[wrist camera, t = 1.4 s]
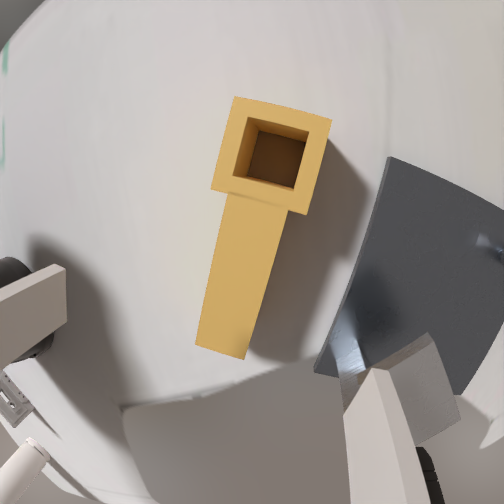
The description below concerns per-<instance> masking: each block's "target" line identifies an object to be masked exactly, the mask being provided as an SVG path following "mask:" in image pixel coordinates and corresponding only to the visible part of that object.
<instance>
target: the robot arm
mask: <svg viewBox="0 0 504 504" xmlns="http://www.w3.org/2000/svg"><path fill="white" fill-rule="evenodd" d="M66 322H67V305H66V269H65V268H63V267H61V266H59V265H56V264H53V265H50V266H48V267H46V268H43V269H41V270H39V271H37V272H35V273H32V274H31V272H30V271H29V270H28V269H27V267H26V266H25V265H24V264H22V263H21V262H20V261H19V260H17V259H15V258H12V257H5V258H3V259H0V371H1V370H2V369H4V368H5V367H6V366H8V365H9V364H11V363H15V362H19V361H22V360H25V359H28V358H35V357H37V356H39V355H41V354H42V353H43V352H45V351H46V350H47V349H48V348H49V347H50V346H51V344H52V341H53V331H55V330H56V329H58V328H59V327H60V326H62V325H63V324H65V323H66ZM343 421H344V429H345V438H346V448H347V457H348V469H349V481H350V496H351V504H445V502H444V499H443V495H442V492H441V488H440V484H439V482H437V480H438V478H437V475H436V472H434V470H435V469H434V465H433V463H432V459H431V457H430V456H429V454H428V453H427V452H426V450H425V449H424V448H423V447H415V445H414V442H413V439H412V436H411V433H410V430H409V427H408V424H407V421H406V418H405V415H404V412H403V409H402V406H401V403H400V401H399V398H398V395H397V392H396V390H395V387H394V384H393V382H392V379H391V376H390V374H389V371H387V370H382V369H377V368H371V370H370V372H369V373H368V375H367V377H366V379H365V380H364V382H363V384H362V386H361V387H360V389H359V391H358V392H357V394H356V396H355V397H354V399H353V401H352V402H351V404H350V405H349V407H348V409H347V410H346V412H345V413H344V415H343Z"/></svg>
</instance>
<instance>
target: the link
mask: <svg viewBox="0 0 504 504" xmlns="http://www.w3.org/2000/svg"><path fill="white" fill-rule="evenodd" d="M331 123H332V119H328V118H325V117H321V116H318V115H314V114H311V113H307V112H303V111H300V110H296V109H292V108H288V107H284V106H279V105H275V104H271V103H266V102H261V101H257V100H252V99H247V98H241V97H236V96H234V100H233V103H232V107H231V111H230V114H229V118H228V122H227V125H226V129H225V133H224V137H223V140H222V144H221V148H220V152H219V156H218V160H217V164H216V168H215V172H214V177H213V181H212V185H211V190H215V191H219V192H223V193H227V194H228V195H227V199H226V204H225V208H224V212H223V216H222V220H221V225H220V229H219V233H218V238H217V242H216V246H215V251H214V255H213V260H212V264H211V269H210V274H209V278H208V283H207V288H206V292H205V297H204V302H203V307H202V312H201V317H200V321H199V326H198V332H197V337H196V342H195V345H198V346H201V347H204V348H207V349H210V350H213V351H216V352H219V353H222V354H226V355H229V356H232V357H235V358H239V359H242V360H244V358H245V355H246V352H247V349H248V346H249V342H250V339H251V336H252V333H253V329H254V326H255V323H256V319H257V316H258V313H259V310H260V306H261V303H262V300H263V296H264V293H265V289H266V286H267V283H268V279H269V276H270V272H271V269H272V266H273V262H274V259H275V255H276V252H277V248H278V245H279V241H280V238H281V234H282V231H283V227H284V224H285V220H286V216H287V213H288V210H290V211H293V212H297V213H300V214H304V215H307V212H308V208H309V205H310V201H311V198H312V194H313V191H314V187H315V184H316V180H317V176H318V173H319V169H320V165H321V161H322V158H323V154H324V150H325V146H326V142H327V139H328V135H329V131H330V127H331ZM259 131H263V132H268V133H272V134H276V135H280V136H284V137H288V138H291V139H295V140H299V141H303V142H306V145H305V148H304V152H303V156H302V160H301V163H300V167H299V171H298V175H297V178H296V182H295V186H294V188H291V187H287V186H284V185H280V184H277V183H273V182H269V181H265V180H262V179H258V178H254V177H250V176H247V175H248V171H249V167H250V163H251V159H252V156H253V152H254V148H255V144H256V140H257V137H258V133H259Z"/></svg>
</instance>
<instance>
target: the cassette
mask: <svg viewBox="0 0 504 504" xmlns="http://www.w3.org/2000/svg"><path fill="white" fill-rule="evenodd" d="M1 391H2V392H3V393H4V395H5V396H6V397H7V398H8V399H9V400H10V401H9V402H8V403H7V402H6V401H5V400H4V399H3V398H2V397H1V395H0V413H1V414H2V416H3V417H4V418H5V419H6V420H7V421H8V422H9V423H10V425H11V426H12V427H13V428H16V427H17V426H18V425H19V424H20V423H21V422H22V421H23V420H24V419H25V418H26V417H27V416H28V415H29V414H30V413H31V412H32V411H33V410H34V406H33V405H32V404H31V403H30V402H29V400H28V399H27V398H26V397H25V395H24V394H23V393H22V392H21V391H20V390H19V389H18V387H17V386H16V385H15V384H14V383H13V382H12V380H11V379H10V378H9V377H8V376H7V374H6V373H5V372H4V371H3V370H1V371H0V392H1ZM10 405H13V406H14V407H15V408H12V407H11V406H10Z"/></svg>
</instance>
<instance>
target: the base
mask: <svg viewBox="0 0 504 504" xmlns="http://www.w3.org/2000/svg"><path fill="white" fill-rule="evenodd" d="M503 322H504V210H502V209H500V208H499V207H497V206H495V205H493V204H492V203H490V202H488V201H486V200H484V199H483V198H481V197H479V196H477V195H475V194H473V193H471V192H469V191H467V190H465V189H463V188H461V187H459V186H457V185H455V184H453V183H451V182H449V181H447V180H445V179H443V178H441V177H438V176H436V175H434V174H432V173H430V172H427V171H425V170H423V169H421V168H418V167H416V166H413V165H411V164H409V163H406V162H404V161H401V160H399V159H396V158H394V157H387V161H386V165H385V169H384V173H383V177H382V180H381V184H380V188H379V191H378V195H377V198H376V202H375V205H374V209H373V212H372V215H371V218H370V222H369V225H368V228H367V231H366V234H365V237H364V240H363V243H362V246H361V249H360V252H359V255H358V258H357V261H356V264H355V267H354V269H353V272H352V275H351V278H350V280H349V283H348V286H347V288H346V291H345V294H344V296H343V299H342V301H341V304H340V306H339V309H338V311H337V314H336V316H335V319H334V321H333V324H332V326H331V328H330V331H329V333H328V335H327V338H326V340H325V342H324V345H323V347H322V349H321V352H320V354H319V356H318V358H317V360H316V363H315V365H314V372H315V373H319V374H324V375H328V376H333V377H338V378H339V374H338V368H337V362H336V359H338V358H340V357H342V356H344V355H345V354H347V353H349V352H351V351H353V350H355V349H356V348H358V347H359V348H360V350H361V351H362V353H363V355H364V356H365V358H366V359H367V361H368V363H369V364H370V366H373V365H375V364H376V363H378V362H380V361H382V360H383V359H385V358H387V357H389V356H390V355H392V354H394V353H395V352H397V351H399V350H400V349H402V348H404V347H405V346H407V345H408V344H410V343H411V342H413V341H415V340H416V339H418V338H419V337H421V336H422V335H424V334H425V333H427V332H428V334H429V335H430V336H431V338H432V339H433V341H434V342H435V345H436V348H437V350H438V353H439V355H440V358H441V361H442V363H443V366H444V369H445V371H446V374H447V377H448V380H449V383H450V386H451V389H452V392H453V395H461V394H462V393H463V391H464V390H465V388H466V387H467V385H468V384H469V382H470V381H471V379H472V378H473V376H474V375H475V373H476V371H477V370H478V368H479V367H480V365H481V363H482V361H483V360H484V358H485V356H486V355H487V353H488V351H489V349H490V347H491V346H492V344H493V342H494V340H495V338H496V336H497V334H498V332H499V330H500V328H501V326H502V324H503Z"/></svg>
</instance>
